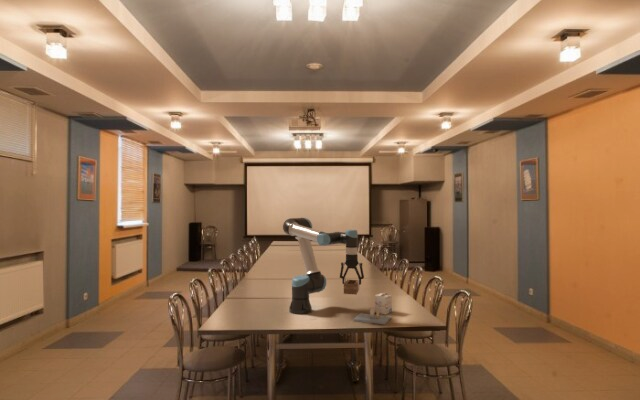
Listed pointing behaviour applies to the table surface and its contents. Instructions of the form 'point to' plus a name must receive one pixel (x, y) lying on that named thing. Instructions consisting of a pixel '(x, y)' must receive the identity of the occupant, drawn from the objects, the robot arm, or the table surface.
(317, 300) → the table surface
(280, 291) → the table surface
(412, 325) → the table surface
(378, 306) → the ink box
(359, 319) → the post board
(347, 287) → the hollow block
